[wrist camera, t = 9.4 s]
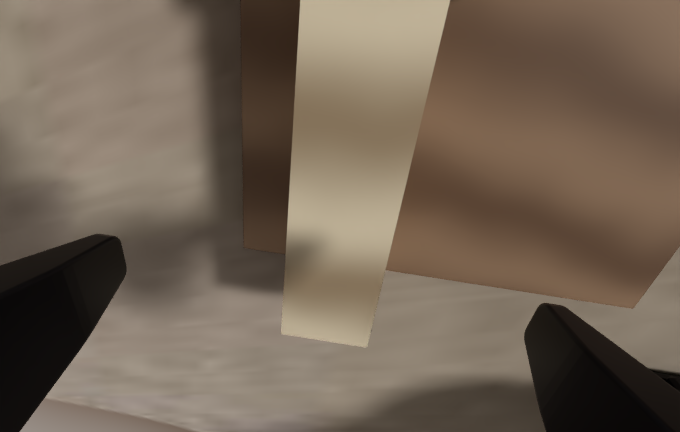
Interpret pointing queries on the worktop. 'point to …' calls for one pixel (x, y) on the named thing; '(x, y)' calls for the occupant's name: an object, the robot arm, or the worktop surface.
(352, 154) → the rail
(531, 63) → the mounting board
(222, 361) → the worktop surface
